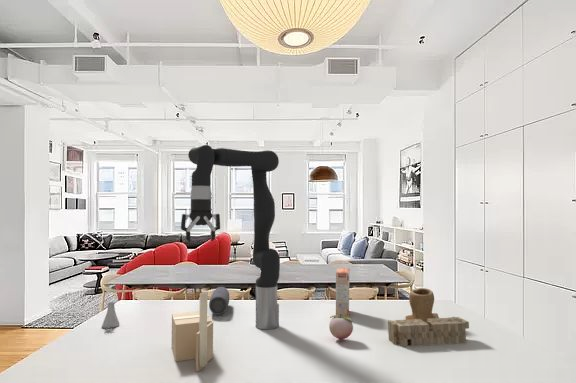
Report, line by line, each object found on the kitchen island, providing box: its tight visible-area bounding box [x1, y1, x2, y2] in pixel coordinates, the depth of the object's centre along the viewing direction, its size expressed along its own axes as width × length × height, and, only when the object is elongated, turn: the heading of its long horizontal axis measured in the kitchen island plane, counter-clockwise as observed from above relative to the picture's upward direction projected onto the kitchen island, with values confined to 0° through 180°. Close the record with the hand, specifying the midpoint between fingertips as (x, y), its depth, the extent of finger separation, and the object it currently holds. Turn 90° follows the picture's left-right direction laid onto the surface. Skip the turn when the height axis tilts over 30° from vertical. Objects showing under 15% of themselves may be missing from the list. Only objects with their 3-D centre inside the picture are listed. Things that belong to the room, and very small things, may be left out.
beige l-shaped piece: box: [195, 292, 214, 373], centre depth 127 cm, size 12×3×24 cm, turn 169°
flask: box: [101, 301, 121, 329], centre depth 168 cm, size 7×7×10 cm
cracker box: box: [335, 267, 350, 318], centre depth 187 cm, size 14×6×21 cm, turn 168°
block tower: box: [387, 316, 470, 347], centre depth 149 cm, size 8×8×29 cm
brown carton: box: [171, 310, 213, 362], centre depth 138 cm, size 12×14×12 cm
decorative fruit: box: [328, 314, 354, 341], centre depth 150 cm, size 9×8×10 cm
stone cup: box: [404, 287, 440, 323], centre depth 172 cm, size 15×12×15 cm
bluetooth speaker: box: [208, 286, 230, 315], centre depth 193 cm, size 23×9×10 cm, turn 6°
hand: (200, 241), depth 147 cm, fingers open, 8 cm apart
